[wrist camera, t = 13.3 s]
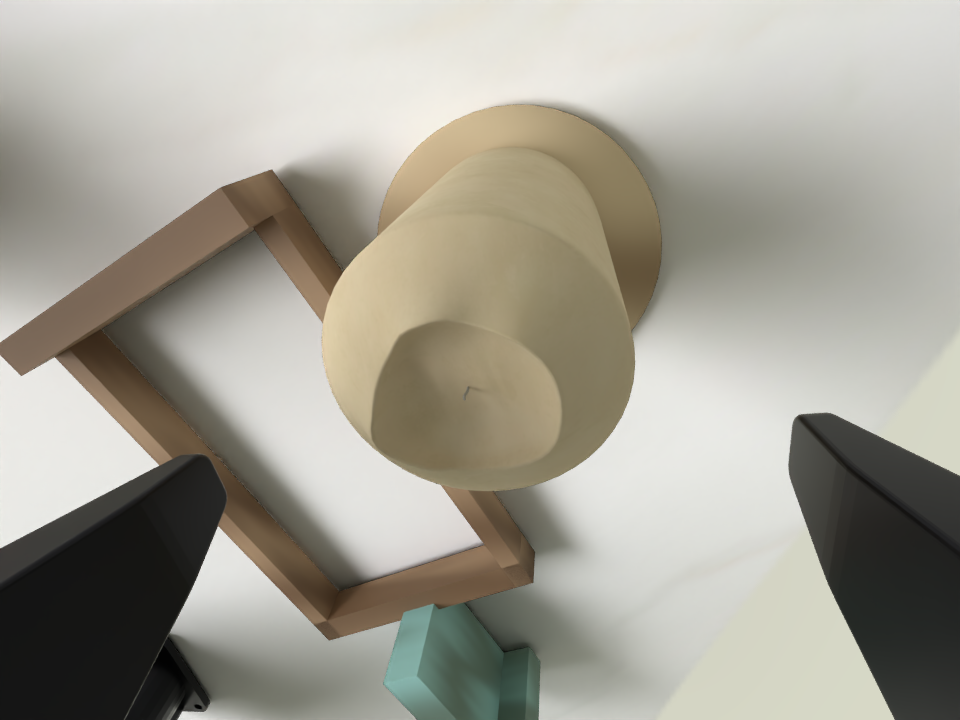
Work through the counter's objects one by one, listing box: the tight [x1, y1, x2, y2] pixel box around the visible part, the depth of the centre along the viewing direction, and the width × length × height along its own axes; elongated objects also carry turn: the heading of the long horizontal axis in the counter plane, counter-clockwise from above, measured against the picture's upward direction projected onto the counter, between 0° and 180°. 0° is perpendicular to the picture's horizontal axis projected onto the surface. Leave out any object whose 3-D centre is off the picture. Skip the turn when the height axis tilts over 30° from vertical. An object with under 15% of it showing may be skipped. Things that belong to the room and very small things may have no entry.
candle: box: [322, 147, 635, 491], centre depth 13 cm, size 6×6×10 cm
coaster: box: [377, 105, 662, 331], centre depth 18 cm, size 9×9×1 cm
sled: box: [0, 170, 540, 720], centre depth 21 cm, size 25×11×5 cm, turn 30°
